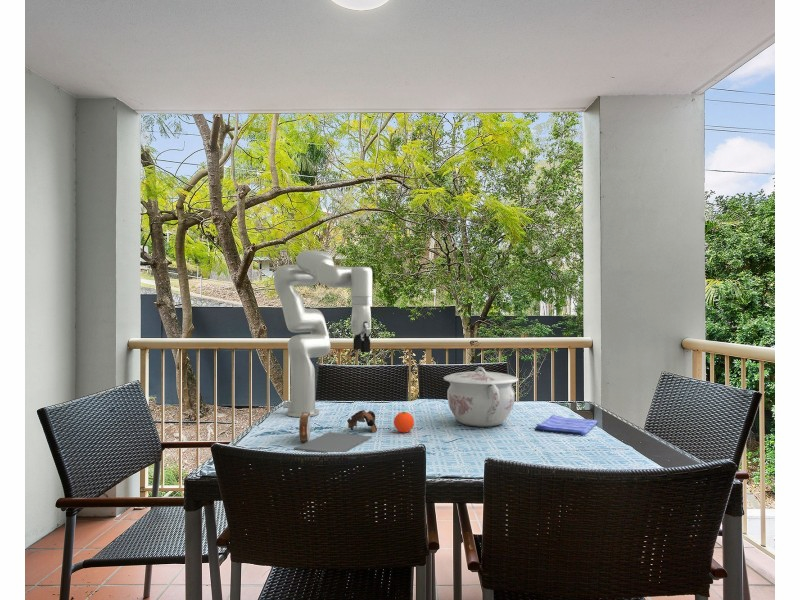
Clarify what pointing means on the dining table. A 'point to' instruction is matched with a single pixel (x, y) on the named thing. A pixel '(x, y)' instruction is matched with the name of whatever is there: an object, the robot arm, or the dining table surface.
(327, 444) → the mat
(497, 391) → the chamber pot
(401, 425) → the clementine
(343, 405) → the dining table surface
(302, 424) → the tin
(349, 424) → the pottery mug
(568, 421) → the dish towel
